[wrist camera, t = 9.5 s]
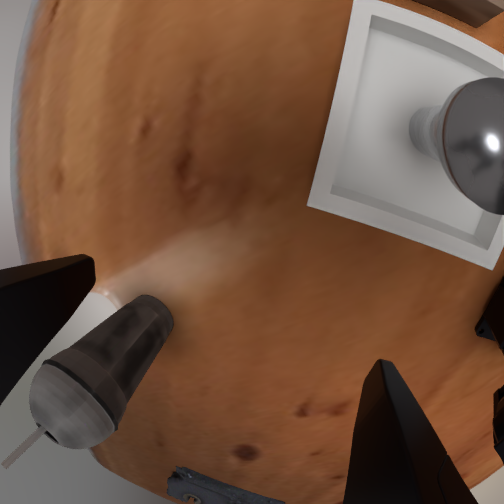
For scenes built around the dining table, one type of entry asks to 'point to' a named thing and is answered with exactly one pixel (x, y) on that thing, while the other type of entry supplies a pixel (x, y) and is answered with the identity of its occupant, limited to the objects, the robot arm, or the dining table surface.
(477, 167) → the lock pin
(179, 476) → the grey stepped plate
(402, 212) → the tray
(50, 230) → the dining table surface
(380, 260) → the dining table surface
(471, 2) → the block
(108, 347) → the beverage cup
